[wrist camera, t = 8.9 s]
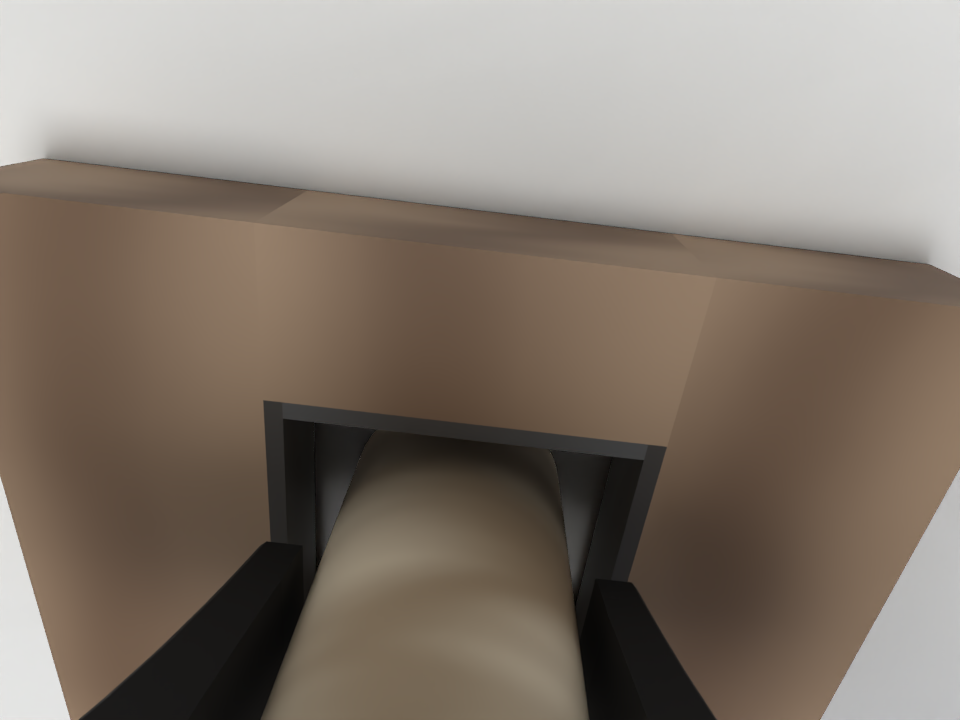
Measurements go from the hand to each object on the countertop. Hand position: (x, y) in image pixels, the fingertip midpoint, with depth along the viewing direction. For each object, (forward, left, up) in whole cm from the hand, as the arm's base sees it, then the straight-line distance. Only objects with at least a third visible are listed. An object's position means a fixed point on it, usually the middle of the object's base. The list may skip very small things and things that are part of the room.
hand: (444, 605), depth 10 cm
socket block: (0, 0, -3) cm, 3 cm away
